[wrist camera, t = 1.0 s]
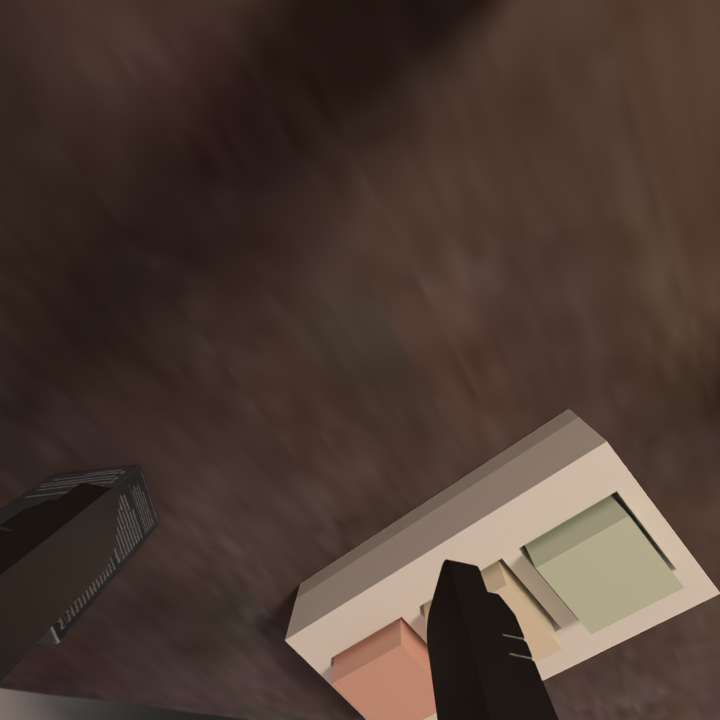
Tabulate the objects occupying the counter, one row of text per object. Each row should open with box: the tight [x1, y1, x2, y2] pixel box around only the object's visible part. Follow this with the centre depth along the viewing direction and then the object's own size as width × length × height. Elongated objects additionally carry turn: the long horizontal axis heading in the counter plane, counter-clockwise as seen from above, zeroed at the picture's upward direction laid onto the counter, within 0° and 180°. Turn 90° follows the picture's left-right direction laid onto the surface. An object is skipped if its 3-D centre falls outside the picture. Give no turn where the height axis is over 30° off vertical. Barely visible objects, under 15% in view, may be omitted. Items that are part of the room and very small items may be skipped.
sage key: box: [525, 495, 684, 635], centre depth 25 cm, size 6×6×3 cm
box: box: [0, 465, 158, 645], centre depth 27 cm, size 8×6×11 cm
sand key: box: [424, 558, 562, 663], centre depth 26 cm, size 6×6×3 cm
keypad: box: [285, 409, 720, 720], centre depth 29 cm, size 25×16×5 cm, turn 130°
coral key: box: [331, 617, 436, 720], centre depth 28 cm, size 6×6×3 cm
